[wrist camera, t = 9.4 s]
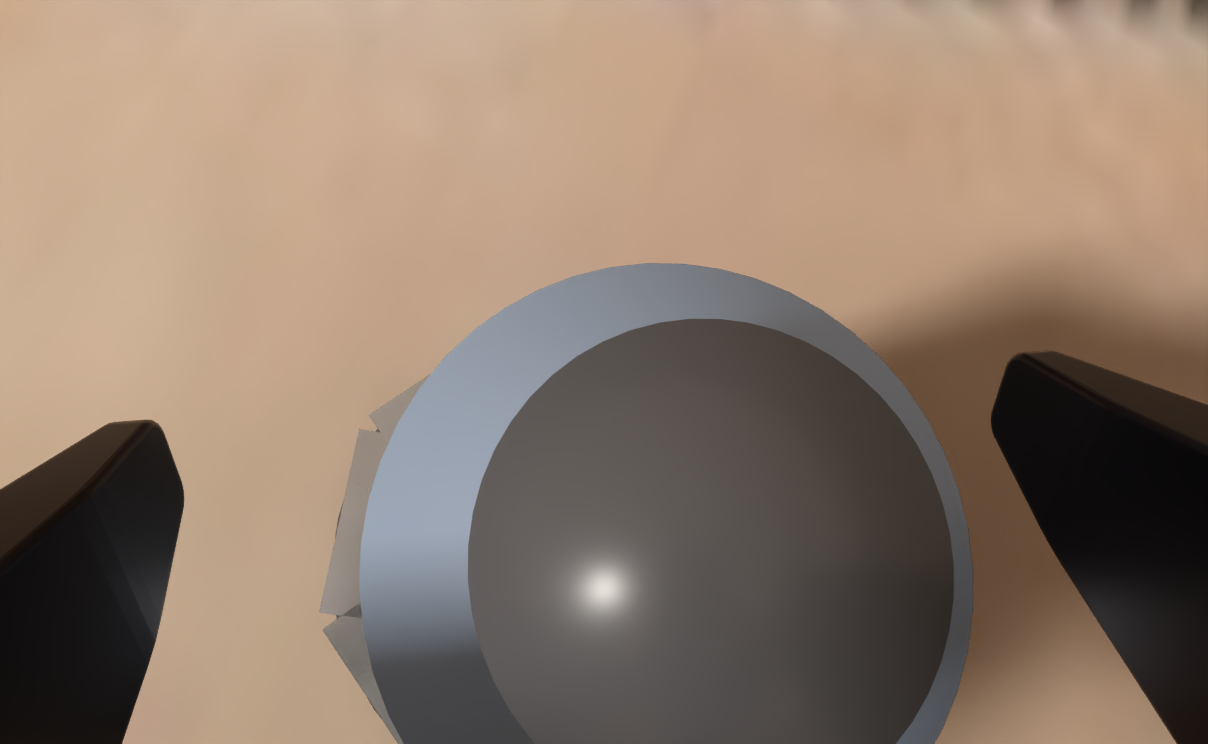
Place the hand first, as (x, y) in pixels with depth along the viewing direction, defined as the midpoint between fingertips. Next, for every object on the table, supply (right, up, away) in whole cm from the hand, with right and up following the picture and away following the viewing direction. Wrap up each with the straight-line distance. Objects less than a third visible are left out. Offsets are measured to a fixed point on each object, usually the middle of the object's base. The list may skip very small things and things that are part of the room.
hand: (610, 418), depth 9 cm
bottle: (-1, -3, +7) cm, 7 cm away
